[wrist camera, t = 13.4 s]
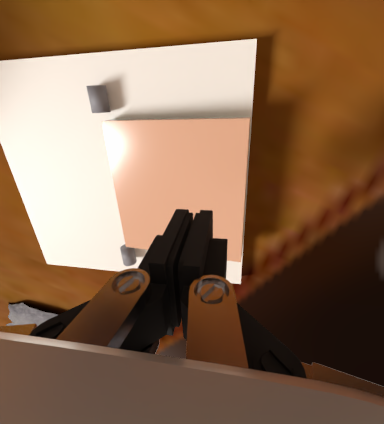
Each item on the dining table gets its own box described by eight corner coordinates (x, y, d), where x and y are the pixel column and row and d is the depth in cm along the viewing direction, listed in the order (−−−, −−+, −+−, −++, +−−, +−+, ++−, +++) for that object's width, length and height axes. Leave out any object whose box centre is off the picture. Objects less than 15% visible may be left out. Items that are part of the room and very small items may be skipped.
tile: (249, 118, 13) (251, 116, 14) (101, 121, 16) (111, 119, 17) (240, 262, 18) (242, 253, 19) (125, 246, 20) (132, 239, 21)
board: (-17, 64, 18) (-50, 61, 16) (256, 42, 14) (258, 33, 12) (53, 258, 26) (37, 271, 24) (240, 276, 22) (240, 294, 20)
